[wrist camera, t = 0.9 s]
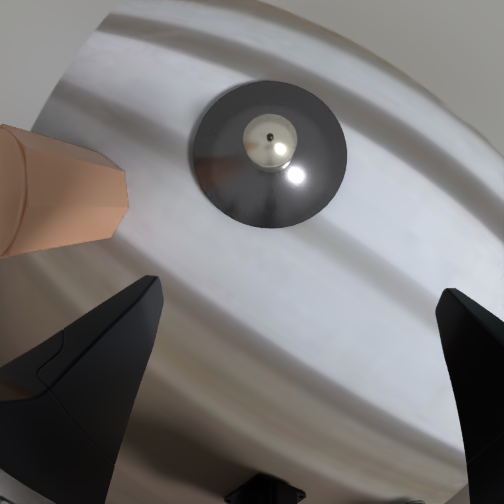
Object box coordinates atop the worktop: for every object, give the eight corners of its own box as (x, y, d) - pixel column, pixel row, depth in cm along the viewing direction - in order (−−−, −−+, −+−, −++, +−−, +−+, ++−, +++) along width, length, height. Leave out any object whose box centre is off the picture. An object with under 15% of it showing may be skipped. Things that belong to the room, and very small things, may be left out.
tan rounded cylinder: (99, 257, 24) (-7, 288, 12) (49, 210, 23) (-56, 214, 12) (142, 185, 23) (40, 166, 11) (86, 142, 23) (-16, 108, 11)
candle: (286, 258, 23) (290, 269, 18) (167, 170, 22) (143, 161, 18) (372, 141, 21) (394, 125, 17) (254, 60, 21) (250, 30, 16)
